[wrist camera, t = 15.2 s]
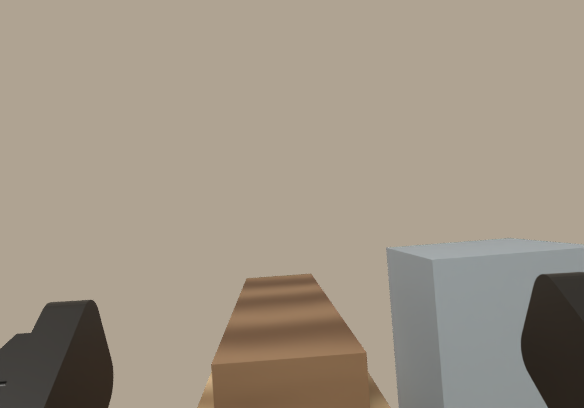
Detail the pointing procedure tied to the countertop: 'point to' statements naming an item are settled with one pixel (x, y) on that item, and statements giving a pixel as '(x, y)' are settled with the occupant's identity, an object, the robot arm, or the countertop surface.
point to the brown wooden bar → (288, 350)
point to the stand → (468, 319)
